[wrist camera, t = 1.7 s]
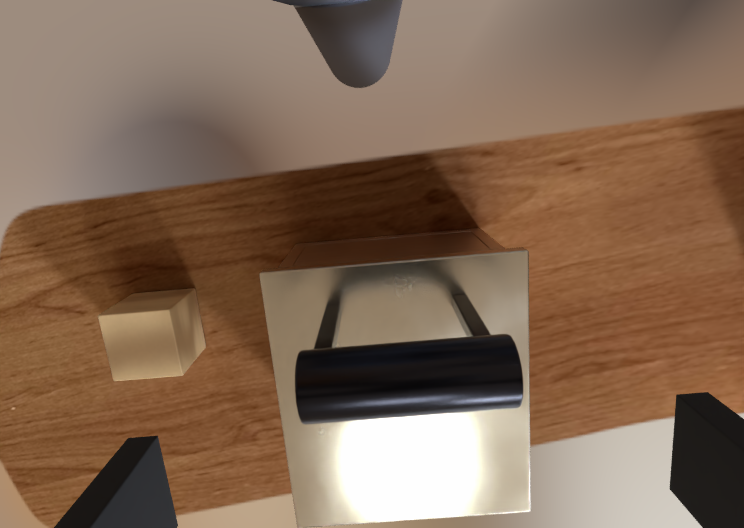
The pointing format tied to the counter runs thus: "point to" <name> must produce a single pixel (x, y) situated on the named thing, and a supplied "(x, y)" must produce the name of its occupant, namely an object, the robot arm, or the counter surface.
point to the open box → (389, 247)
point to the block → (153, 334)
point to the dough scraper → (403, 385)
